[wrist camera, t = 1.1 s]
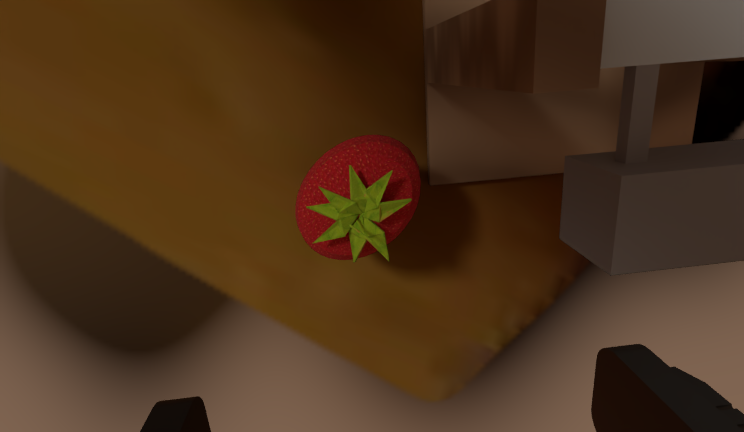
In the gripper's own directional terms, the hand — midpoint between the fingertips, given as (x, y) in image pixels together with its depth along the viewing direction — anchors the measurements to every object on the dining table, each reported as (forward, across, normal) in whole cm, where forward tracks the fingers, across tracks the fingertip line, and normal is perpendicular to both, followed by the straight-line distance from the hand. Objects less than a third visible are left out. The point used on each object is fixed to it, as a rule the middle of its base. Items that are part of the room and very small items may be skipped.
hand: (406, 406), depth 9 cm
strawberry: (+21, 0, 0) cm, 21 cm away
